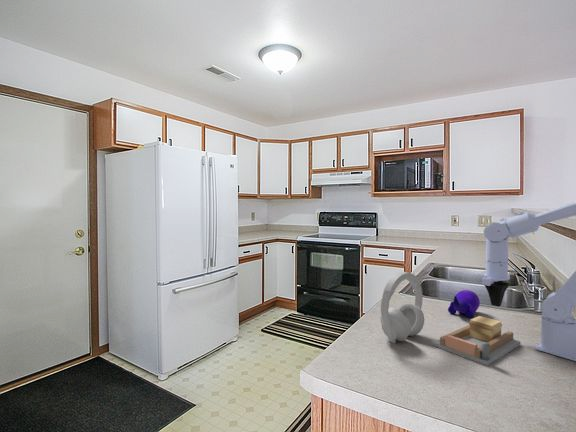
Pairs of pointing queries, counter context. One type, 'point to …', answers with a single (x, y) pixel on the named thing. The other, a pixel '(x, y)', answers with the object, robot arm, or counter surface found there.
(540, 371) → the counter surface
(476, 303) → the toy
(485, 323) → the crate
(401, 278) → the headphones
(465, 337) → the bay
